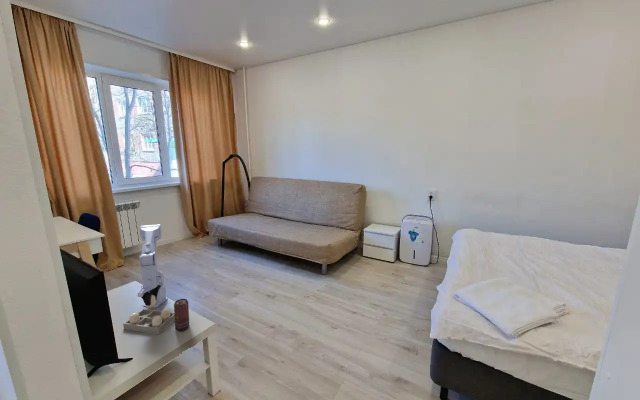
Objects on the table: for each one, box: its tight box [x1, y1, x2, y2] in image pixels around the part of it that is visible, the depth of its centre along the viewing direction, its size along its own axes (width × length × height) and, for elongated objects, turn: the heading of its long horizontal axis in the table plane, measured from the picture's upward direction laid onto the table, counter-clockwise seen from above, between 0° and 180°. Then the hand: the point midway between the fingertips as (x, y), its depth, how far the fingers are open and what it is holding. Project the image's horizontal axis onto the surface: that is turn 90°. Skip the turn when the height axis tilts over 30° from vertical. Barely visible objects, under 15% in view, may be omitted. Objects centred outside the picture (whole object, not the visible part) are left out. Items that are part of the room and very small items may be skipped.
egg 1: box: [129, 312, 140, 324], centre depth 129 cm, size 4×4×6 cm
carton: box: [122, 308, 175, 335], centre depth 132 cm, size 12×18×3 cm
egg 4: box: [161, 308, 171, 320], centre depth 134 cm, size 4×4×6 cm
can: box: [173, 298, 190, 333], centre depth 129 cm, size 6×6×14 cm
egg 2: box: [145, 295, 156, 309], centre depth 133 cm, size 4×4×6 cm
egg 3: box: [152, 316, 162, 328], centre depth 128 cm, size 4×4×6 cm
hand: (151, 302), depth 133 cm, fingers closed on egg 2, 4 cm apart
